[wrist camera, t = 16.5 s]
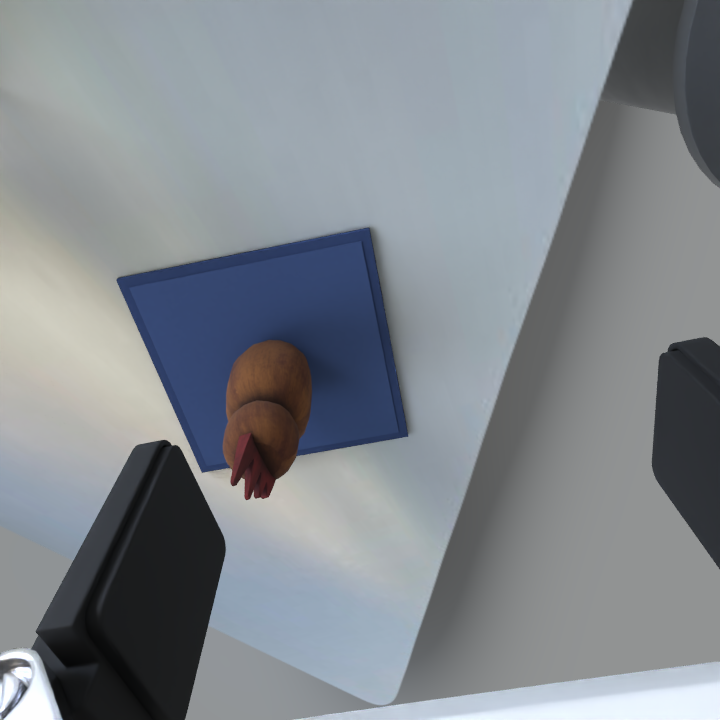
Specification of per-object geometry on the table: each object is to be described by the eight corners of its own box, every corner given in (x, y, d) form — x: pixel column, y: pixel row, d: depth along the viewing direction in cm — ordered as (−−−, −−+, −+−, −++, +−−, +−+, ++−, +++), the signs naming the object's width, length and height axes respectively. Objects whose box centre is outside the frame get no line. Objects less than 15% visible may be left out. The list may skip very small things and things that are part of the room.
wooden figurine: (235, 324, 40) (185, 458, 27) (314, 326, 40) (303, 460, 27) (240, 401, 43) (198, 553, 30) (313, 403, 43) (302, 554, 30)
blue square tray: (369, 227, 37) (369, 229, 37) (407, 433, 46) (408, 437, 45) (118, 277, 38) (115, 280, 38) (202, 469, 47) (201, 473, 47)
